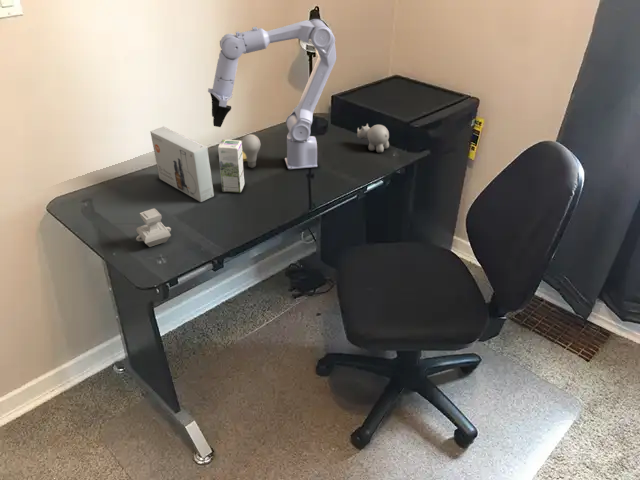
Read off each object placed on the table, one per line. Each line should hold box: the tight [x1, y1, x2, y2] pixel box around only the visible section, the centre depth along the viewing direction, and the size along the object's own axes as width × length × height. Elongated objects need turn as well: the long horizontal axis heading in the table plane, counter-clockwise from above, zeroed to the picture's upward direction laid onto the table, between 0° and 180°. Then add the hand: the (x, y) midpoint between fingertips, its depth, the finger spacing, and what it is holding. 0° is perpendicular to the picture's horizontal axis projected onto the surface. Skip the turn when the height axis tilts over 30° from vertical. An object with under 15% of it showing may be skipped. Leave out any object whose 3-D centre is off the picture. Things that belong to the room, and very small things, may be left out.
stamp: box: [135, 207, 172, 248], centre depth 141 cm, size 9×7×8 cm
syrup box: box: [217, 139, 246, 194], centre depth 164 cm, size 6×6×14 cm
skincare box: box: [149, 126, 215, 203], centre depth 164 cm, size 21×6×16 cm, turn 47°
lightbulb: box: [240, 133, 262, 169], centre depth 177 cm, size 6×6×11 cm
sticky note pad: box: [242, 150, 248, 163], centre depth 185 cm, size 8×8×1 cm
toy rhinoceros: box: [356, 123, 390, 153], centre depth 192 cm, size 7×12×8 cm, turn 52°
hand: (216, 121), depth 169 cm, fingers open, 7 cm apart
